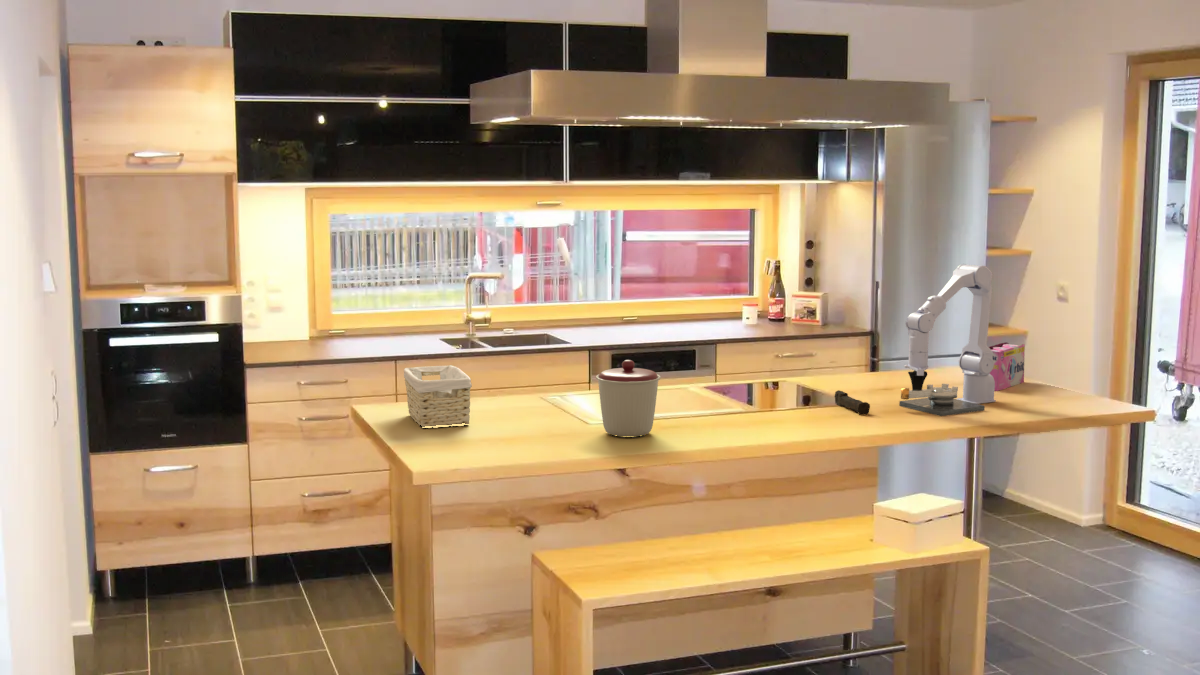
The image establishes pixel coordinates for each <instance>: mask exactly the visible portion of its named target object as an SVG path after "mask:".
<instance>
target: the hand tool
mask: <svg viewBox="0 0 1200 675" xmlns="http://www.w3.org/2000/svg"><path fill="white" fill-rule="evenodd" d="M834 402H835V404H836V405H837V406H838V407H845V408H847V409H850V410H852V411H854V412H857V414H858V415H868V414H869V413H870V409H871V404H870V403H869V402H867V401H864V402H863V401H862V400H860V399H856V398H854V397H852V396H849V394H848V393H847V392H845V391H843V390H836V391H835V392H834Z"/></svg>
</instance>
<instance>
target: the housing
mask: <svg viewBox="0 0 1200 675" xmlns="http://www.w3.org/2000/svg"><path fill="white" fill-rule="evenodd" d="M957 399H958V398H953V399H938V398H932V400H928V397H925V398H912V399H904V400H899V403H898V404H899V406H900V407H903V408H906V409H910V410H915V411H919V412H922V413H927V414H931V415H935V416H938V417H944V416H953V415H960V414H968V413H976V412H983V411H985V408H986V406H985V405H984V404H983V405H982V404H975V403H970V402H966V401H962V400H957Z"/></svg>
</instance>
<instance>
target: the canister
mask: <svg viewBox="0 0 1200 675" xmlns="http://www.w3.org/2000/svg"><path fill="white" fill-rule="evenodd" d="M621 366H622V367H618V368H617V367H616V368H610V369H605V370H603V371H601V372H600V373H599V374H597V375H596V376H595V379H596V380H597V381H598V392H599V401H600V402H599V403H600V410H601V411H600V412H601V416H602V424H603V427H604V430H605V432H606V433H607V434H608V433H609V434H608V435H610V434H612V435H617V436H640V435H644V436H646V435H645V434H647V435H649V434H650V432H651V431H652V429H653V424H654V421H655V420H654V419H655V412H656V404H657V394H658V388H659V381H660V380H661V378H662V377H661V375H660V374H658V373H656V371H654V370H651V369H646V368H640V367H635V362H634V361H633V360H631V359H625V360H624V361H622V363H621ZM612 435H611V436H612ZM640 437H641V436H640Z"/></svg>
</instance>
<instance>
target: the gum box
mask: <svg viewBox="0 0 1200 675" xmlns="http://www.w3.org/2000/svg"><path fill="white" fill-rule="evenodd" d="M1025 346H1026V344H1025V343H1022V344H1021V345H1017V344H1012V343H1011V344H1010V343H1009V342H1008V341H1007V342H1001V343H997V344H994V345H991V346H988V347H989V348H990V349H991V350H992V352H993V354H992V358H993V362H994V366H993V369H992V371H991V372H990V373H989V374H991V375H992V376H993V378H994V381H995V387H994V392H998V391H1001V390H1002V391H1003V390H1004V389H1007V388H1011V387H1015V386H1016V385H1020V384H1022V383H1024V382H1025V350H1026V349H1025ZM977 354H979V353H977Z"/></svg>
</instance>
